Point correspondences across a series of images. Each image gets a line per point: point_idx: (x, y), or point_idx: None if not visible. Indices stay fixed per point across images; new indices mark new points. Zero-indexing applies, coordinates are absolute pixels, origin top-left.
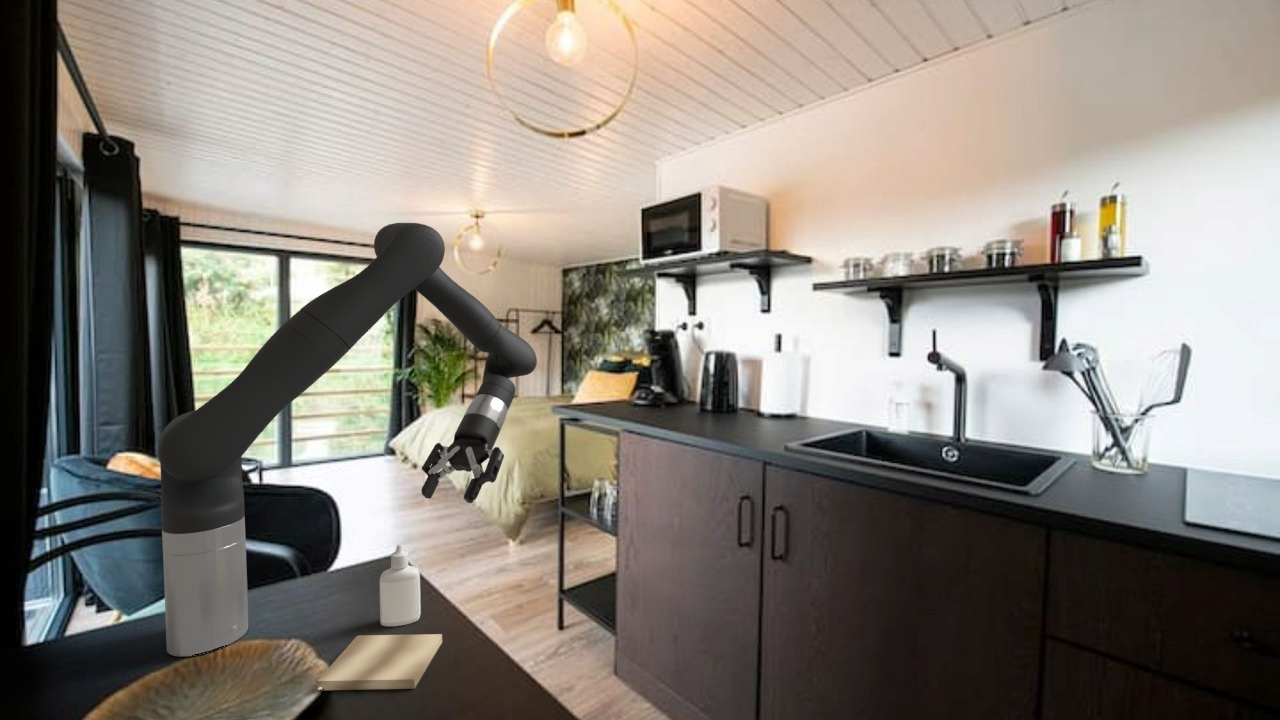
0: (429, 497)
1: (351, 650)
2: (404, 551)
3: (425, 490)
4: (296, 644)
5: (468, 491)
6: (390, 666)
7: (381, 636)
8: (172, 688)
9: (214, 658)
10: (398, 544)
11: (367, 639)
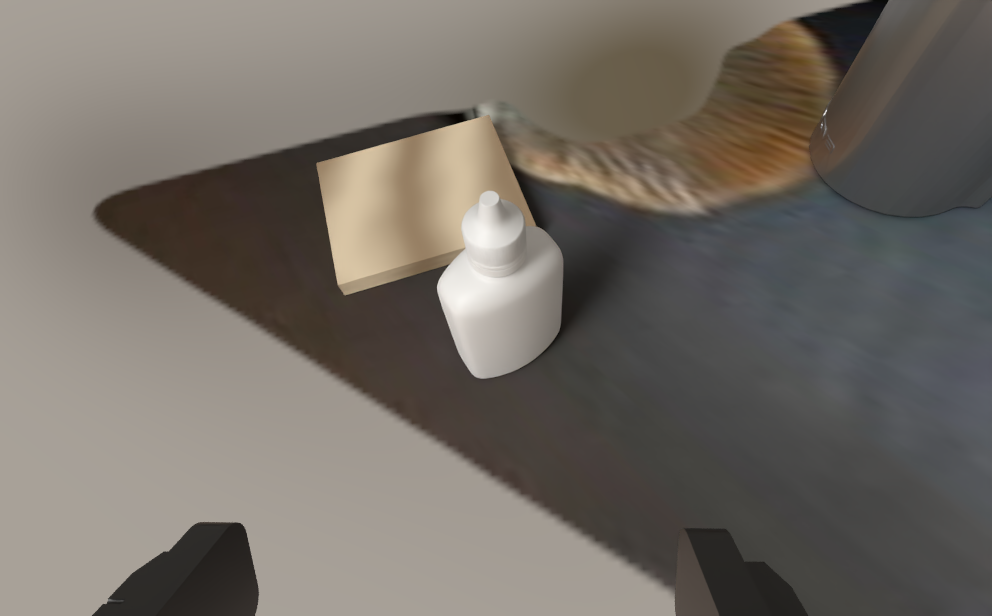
0: (675, 602)
1: (502, 186)
2: (476, 227)
3: (694, 539)
4: (670, 200)
5: (172, 561)
6: (384, 174)
7: None
8: (740, 68)
9: (780, 128)
10: (494, 198)
11: None
